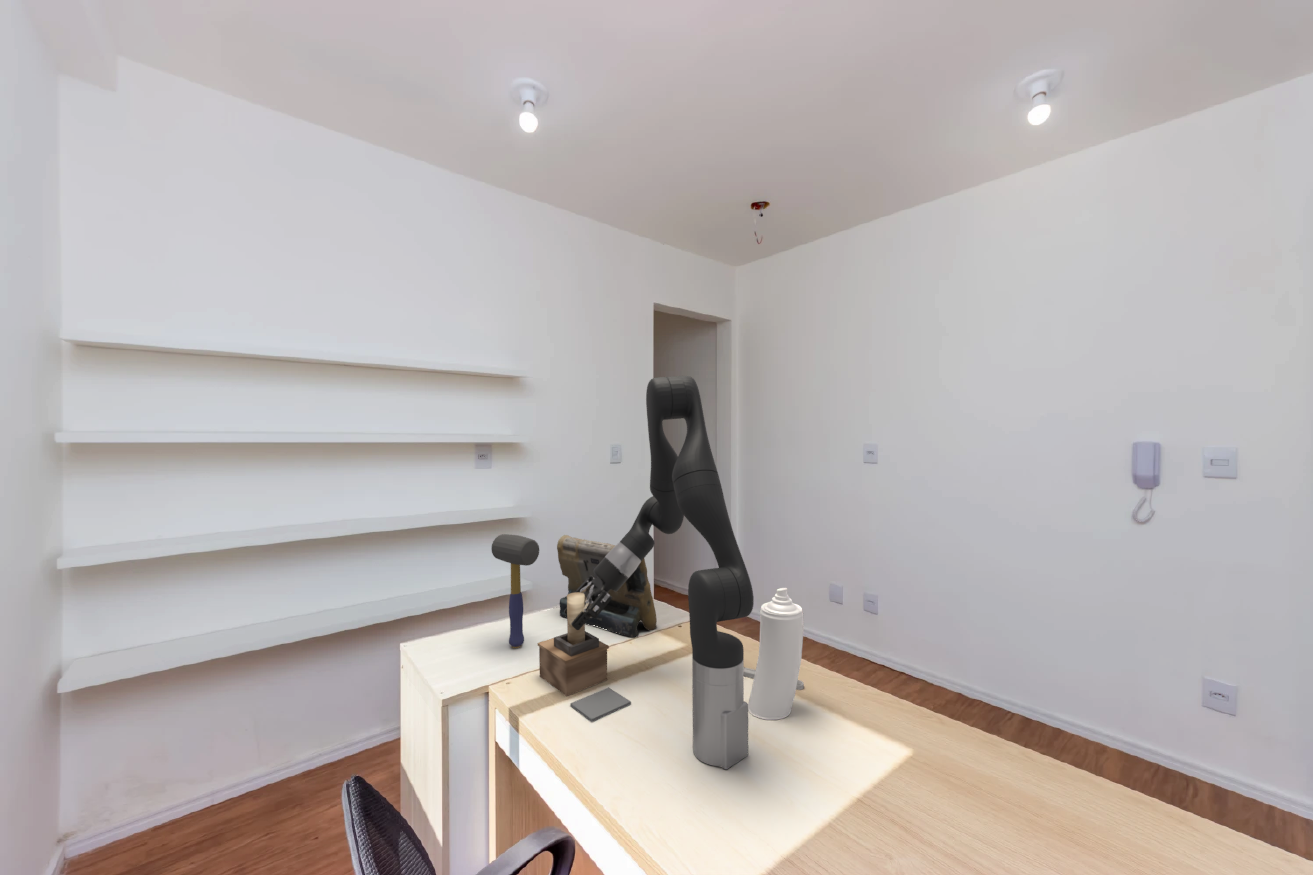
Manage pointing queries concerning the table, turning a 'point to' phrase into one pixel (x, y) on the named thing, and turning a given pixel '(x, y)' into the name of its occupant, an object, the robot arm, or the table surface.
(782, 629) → the spray can
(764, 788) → the table surface
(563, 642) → the wooden box
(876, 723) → the table surface
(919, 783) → the table surface
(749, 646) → the table surface
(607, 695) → the rubber mat
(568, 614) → the wooden cylinder
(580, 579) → the tablet
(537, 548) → the rubber mallet
